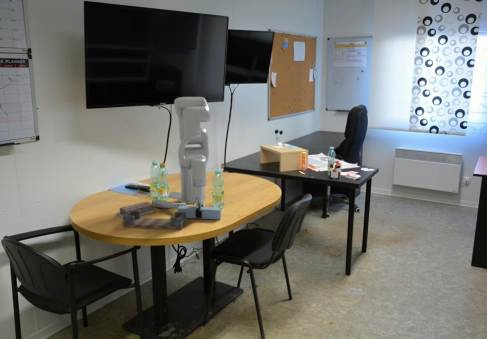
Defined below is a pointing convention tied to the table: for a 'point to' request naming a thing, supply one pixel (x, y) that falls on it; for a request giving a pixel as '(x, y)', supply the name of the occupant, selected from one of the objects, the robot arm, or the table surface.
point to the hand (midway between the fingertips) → (199, 215)
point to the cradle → (154, 221)
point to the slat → (206, 212)
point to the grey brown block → (136, 208)
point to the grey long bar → (166, 204)
